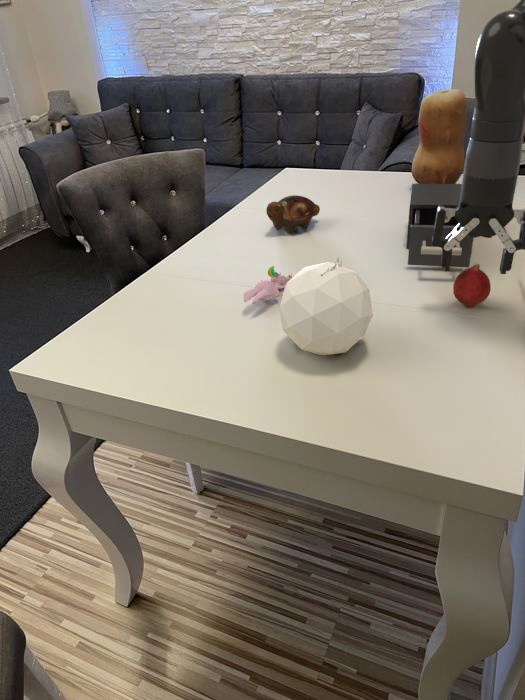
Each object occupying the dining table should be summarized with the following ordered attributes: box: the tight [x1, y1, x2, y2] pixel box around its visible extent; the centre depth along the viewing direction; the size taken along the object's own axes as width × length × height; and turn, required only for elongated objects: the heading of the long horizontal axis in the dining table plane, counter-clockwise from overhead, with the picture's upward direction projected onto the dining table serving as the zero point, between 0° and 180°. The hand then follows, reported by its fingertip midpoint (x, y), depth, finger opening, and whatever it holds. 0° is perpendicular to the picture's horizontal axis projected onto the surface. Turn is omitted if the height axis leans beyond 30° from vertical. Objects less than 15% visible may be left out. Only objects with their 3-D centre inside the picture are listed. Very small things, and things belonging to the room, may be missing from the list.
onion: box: [452, 263, 492, 309], centre depth 89 cm, size 6×6×8 cm
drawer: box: [407, 208, 475, 268], centre depth 105 cm, size 18×11×8 cm, turn 165°
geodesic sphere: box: [278, 257, 374, 356], centre depth 81 cm, size 15×14×14 cm
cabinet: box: [405, 183, 462, 250], centre depth 116 cm, size 15×13×10 cm
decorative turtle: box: [265, 194, 321, 235], centre depth 127 cm, size 10×15×8 cm, turn 132°
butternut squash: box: [411, 88, 468, 184], centre depth 139 cm, size 14×13×25 cm
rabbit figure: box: [243, 265, 293, 304], centre depth 98 cm, size 6×6×15 cm
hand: (474, 271), depth 87 cm, fingers open, 8 cm apart
